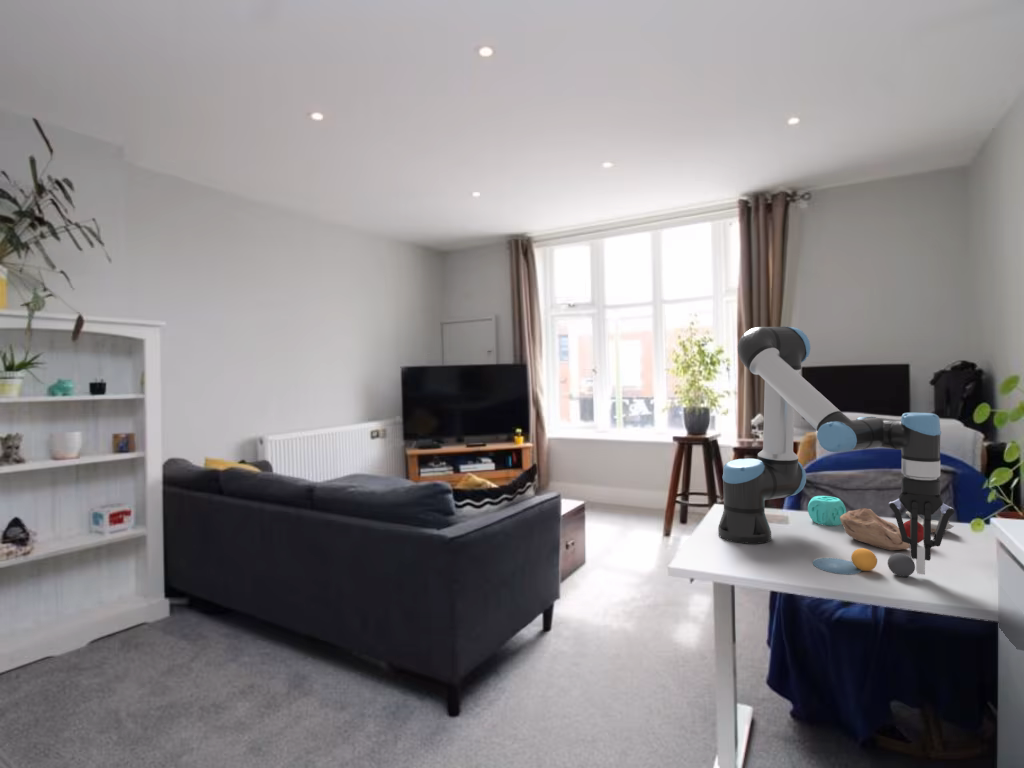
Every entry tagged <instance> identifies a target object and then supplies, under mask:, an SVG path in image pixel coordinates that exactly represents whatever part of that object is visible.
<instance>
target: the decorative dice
mask: <svg viewBox="0 0 1024 768" xmlns="http://www.w3.org/2000/svg"><path fill="white" fill-rule="evenodd" d="M807 513H808V516H809V518H810V519H811V520H812V522H814V523H815V524H817V523H818V525H822V526H827V525H828V527H829V526H831V527H837V526H840V525H842V523H841V520H840V517H841V516H842V515H843V514H845V513H847V509H846V506H845V504H844V502H843V500H841V499H840V498H838V497H835V496H829V495H816V496H813V497H812V498H811V499H810V500H809V502H808V505H807Z"/></svg>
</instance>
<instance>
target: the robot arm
mask: <svg viewBox="0 0 1024 768" xmlns="http://www.w3.org/2000/svg"><path fill="white" fill-rule="evenodd" d="M810 353H811V343H810V339H809V337H808V336H807V334H806V333H805V332H804V331H803V330H801V329H800V328H797V327H793V326H784V325H783V326H757V327H752V328H750V329H749V330H746V331H745V332H744V333H743V334H742V335H741V337H740V338H739V341H738V343H737V354H738V358H739V360H740V362H741V363H742V364H743V365H744V367H745V368H746V369H747V370H748V371H749V372H750V373H751V374H753V375H758V376H759V377H761V378H762V379H763V381H764V390H763V391H764V394H763V395H764V396H763V397H764V398H763V399H764V401H763V434H762V435H763V436H762V438H763V439H762V450H761V451H759V452H758V453H757V458H749V457H748V458H738V459H737V458H736V459H732V460H731V461H728V462H726V463H725V464H724V465H723V471H722V473H723V474H722V485H723V486H722V487H723V488H722V489H723V490H722V492H723V510H722V511H723V513H722V514H721V519H720V521H719V524H718V528H717V529H718V536H719V537H720V538H722V539H725V540H727V541H729V542H734V543H740V544H748V545H749V544H751V545H753V544H765V543H768V542H770V541H771V540H772V530H771V527H770V524H769V521H768V519H767V515H766V513H765V511H766V510H765V508H766V507H765V501H768V500H775V499H781V498H789V497H791V496H795V495H797V494H799V493H800V492H801V491H803V489H804V487H805V485H806V483H807V474H806V473H807V472H806V470H805V469H804V468H803V467H804V466H803V464H802V463H801V462H800V461H799V456H798V455H797V454H796V453H795V452H794V436H795V435H794V430H795V429H794V428H795V411H796V412H797V413H798V414H799V415H800V416H801V417H802V418H803V419H804V420H805V421H806V422H807V423H808V424H809V425H810V426H811V427H813V429H815V431H817V432H816V440H818V443H819V445H820V447H821V448H822V449H824V450H825V451H827V452H830V453H848V452H851V451H852V452H853V451H859V450H868V449H876V448H884V449H892V450H893V449H894V450H898V451H899V450H901V452H900V453H901V474H902V477H901V491H900V492H901V493H900V495H899V496H898V498H897V499H895V500H893V501H892V500H889V502H888V506H889V508H890V509H891V511H892V512H893V513H894V517H895V521H896V523H897V527H898V528H899V530H900V534H901V537H902V541H903V542H905V543H908V544H909V546H910V558H911V559H912V560H913V559H915V570H916V571H915V572H916V574H917V575H918V574H919V575H925V574H926V561H930V560H931V559H932V557H931V553H932V551H931V550H932V548H933V547H940V546H941V544H942V541H943V538H944V535H945V531H946V530H945V529H946V526H947V523H948V520H949V519H950V518H951V517H952V516H953V515H954V513H955V510H954V508H953V506H950V505H947V504H945V503H944V501H943V499H942V498H941V480H940V479H939V478H940V477H941V435H942V431H941V421H940V420H941V419H940V416H939V415H937V414H936V413H932V412H904V413H902V415H901V417H900V419H893V418H883V417H877V416H859V417H857V418H856V419H853V420H852V419H850V418H849V417H848V416H847V415H846V414H845V413H843V411H841V410H840V409H838V407H836V406H835V405H834V404H833V403H832V402H831V401H830V400H829V399H827V398H826V397H825V396H824V395H823V394H822V393H821V392H820V391H818V390H817V389H816V388H815V386H813V385H812V384H811V383H810V382H809V381H807V380H806V379H805V378H804V377H803V376H802V375H801V374H800V372H801V371H802V363H803V362H805V361H806V360H807V358H808V357H809V355H810ZM901 504H902V506H904V508H905V509H906V510H907V511H909V512H910V517H909V518H910V519H909V520H910V537H907V534H906V531H905V527H904V521H903V517H902V514H901V511H900V510H901V509H902V507H901ZM939 509H940V512H941V514H940V516H939V520H938V521H939V522H938V526H937V529H936V532H934V535H933V538H932V532H931V520H932V515H934V514H935V513H936V512H937V511H938V510H939ZM918 515H919V516H920V515H921V516H922V519H923V540H922V541H923V544H919V543H917V536H918ZM949 521H950V520H949Z"/></svg>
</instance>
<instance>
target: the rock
mask: <svg viewBox="0 0 1024 768" xmlns="http://www.w3.org/2000/svg"><path fill="white" fill-rule="evenodd" d="M840 520H841V525H842V526H843V528H844V531H845V533H846V534H847V535H848V537H851V538H852V539H854V540H855V541H858V542H862V543H863V544H867V545H870V546H873V547H876V548H879V549H880V548H881V549H884V550H888V551H892V552H893V551H898V550H908V549H909V548H910V549H911V545H910V544H908V543H905V542H903V541H902V537H901V534H900V530H899V527H898V525H896V523H893V522H890V521H888V520H885V519H884V518H881V517H880V516H878V515H877V513H875V512H874V511H873V510H872V509H871V508H866V507H861V508H858V509H855V510H848V511H846V513H845V514H843V515H842V516H841V517H840Z"/></svg>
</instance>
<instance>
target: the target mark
mask: <svg viewBox="0 0 1024 768" xmlns="http://www.w3.org/2000/svg"><path fill="white" fill-rule="evenodd" d="M812 565H813V566H814V567H816V568H817V569H818V570H819V569H820V570H823V571H826V572H827V573H828V572H829V573H832V574H837V575H838V574H839V575H855V574H859V573H861V572H862V571H863V570H860V569H858V568H857V567H856V566H855V565H854V564H853V562H852V561H850V560H846V559H842V558H835V557H821V558H820V557H819V558H816V559H814V560H813V561H812Z"/></svg>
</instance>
